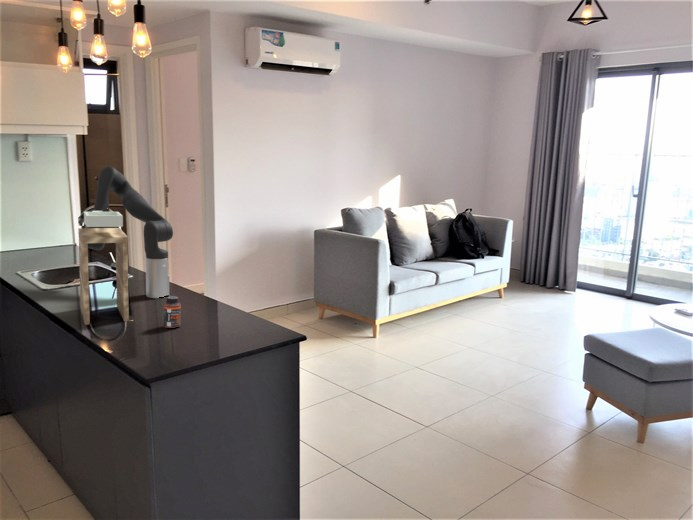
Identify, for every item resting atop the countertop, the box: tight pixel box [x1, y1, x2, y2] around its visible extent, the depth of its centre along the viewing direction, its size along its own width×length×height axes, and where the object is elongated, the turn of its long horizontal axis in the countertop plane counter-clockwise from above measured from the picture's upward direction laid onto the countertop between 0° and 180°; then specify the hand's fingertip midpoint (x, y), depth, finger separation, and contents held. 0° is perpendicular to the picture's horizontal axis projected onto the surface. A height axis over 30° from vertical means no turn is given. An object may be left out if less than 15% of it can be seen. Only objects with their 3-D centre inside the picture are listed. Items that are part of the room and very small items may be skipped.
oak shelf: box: [77, 227, 130, 325], centre depth 220 cm, size 15×24×32 cm, turn 28°
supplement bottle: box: [163, 295, 182, 329], centre depth 212 cm, size 6×6×11 cm
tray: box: [83, 210, 124, 228], centre depth 221 cm, size 12×32×4 cm, turn 28°
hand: (97, 211), depth 231 cm, fingers closed on tray, 4 cm apart
